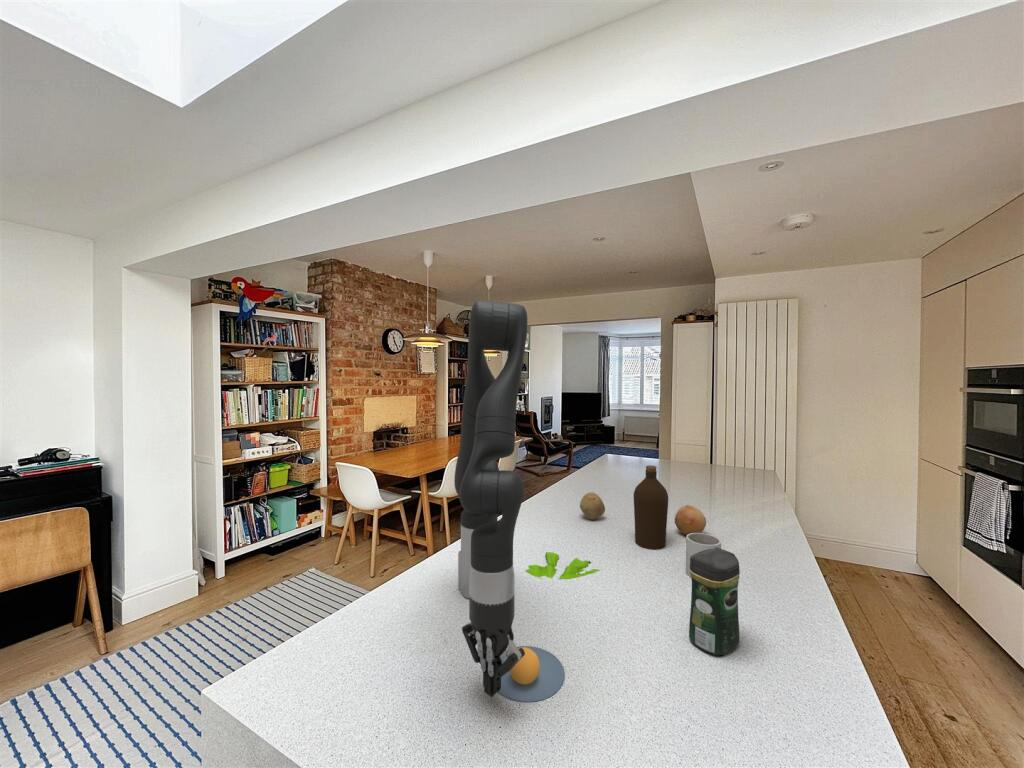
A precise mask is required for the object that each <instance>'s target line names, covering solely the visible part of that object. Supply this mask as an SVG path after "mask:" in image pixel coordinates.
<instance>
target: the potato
mask: <svg viewBox="0 0 1024 768" xmlns="http://www.w3.org/2000/svg"><path fill="white" fill-rule="evenodd" d="M579 508H580V510H581V512H582V513H583V515H584V516H585V517H586V518H587V519H589V520H591V521H592V520H594V521H595V520H596V519H597V518H599V517H601V516H603V515H604V514H605V512H606V507H605V504H604V501H603V500H602V498H601V497H600V496H599V495H598V494H597V493H595V492H587V493H585V494H584V495H583V496H582V498H581V500H580V503H579Z"/></svg>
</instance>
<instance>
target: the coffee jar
mask: <svg viewBox="0 0 1024 768" xmlns="http://www.w3.org/2000/svg"><path fill="white" fill-rule="evenodd" d="M689 570H690V575H691V578H690V579H691V595H690V598H691V600H690V613H689V622H688V623H689V624H688V625H689V626H688V627H689V628H688V629H689V630H688V638H689V639H690V641H691V642H692V644H693V645H695V646H696V647H698V649H699V650H701V651H703V652H706V653H708V654H711V655H712V654H713V655H716V656H722V655H726V654H728V653H730V652H732V651H733V650H734V649H735V648H737V646H738V645H739V643H740V623H739V622H740V621H739V600H738V599H739V589H738V588H739V582H740V581H739V580H740V573H741V572H740V563H739V560H738V558H737V556H736V555H735V554H734V553H733V552H731V551H728V550H725V549H723V548H721V549H720V548H717V547H715V548H713V549H707V550H704V551H701V552H698V553H696V554H694V555H692V556H691V557H690V569H689Z"/></svg>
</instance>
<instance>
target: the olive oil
mask: <svg viewBox="0 0 1024 768" xmlns="http://www.w3.org/2000/svg"><path fill="white" fill-rule="evenodd" d="M657 473H658V472H657V466H655V465H645V477H644V478H643V479H642V480H641V481H640V483H638V484H637V485H636V487H635V489H634V491H633V508H634V509H633V513H634V514H633V517H634V542H635V544H636V545H637V546H639V547H641V548H643V549H647V550H662V549H664V548H665V547H666V546H667V524H668V512H669V511H668V509H669V494H668V491H667V488H666V487H665V486H664V485H663V484H662V483H661V482H660V481H659V479H658V478H657Z"/></svg>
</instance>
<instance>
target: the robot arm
mask: <svg viewBox="0 0 1024 768" xmlns="http://www.w3.org/2000/svg"><path fill="white" fill-rule="evenodd" d="M469 314H470V315H469V323H468V343H467V346H468V347H467V368H466V369H467V371H466V379H465V387H464V395H463V401H462V402H463V403H462V411H461V425H460V426H461V429H460V441H459V448H458V455H457V459H456V465H455V470H454V488H455V491H456V494H457V495H458V497H459V499H458V500H459V502H460V505H461V507H462V508H463V511H462V512H461V514H460V550H459V551H458V554H457V557H458V559H457V561H458V562H457V566H458V567H457V570H458V572H457V575H458V577H457V580H458V581H457V584H458V585H457V586H458V587H457V588H458V590H459V591H460V594H461V595H462V596H463V598H466V599H468V606H469V607H468V608H469V609H468V610H469V611H468V616H469V620H470V622H468V623H466V624H465V625H463V626H462V627H461V631H462V633H463V634H462V635H463V636H464V640H465V641H466V643H467V646H468V649H469V652H470V654H471V656H472V659H473V661H474V663H475V664H478V663H479V664H480V669H481V671H482V685H483V688H484V689H483V690H484V693H485V695H488V696H489V697H490V698H493V697H494V696H495V695H496V694H499V693H498V692H499V691H500V689H501V677H502V676H503V675H505V674H506V673H507V672H508V671H510V670H511V669H512V668H513V667H514V666H515V665H516V664H517V663H518V662H519V661H520V660H521V658H522V657H523V656H524V655H525V652H524V650H523V649H522V648H520V649H518V648H517V647H518V646H517V645H516V643H515V642H514V639H515V638H514V637H515V636H514V635H515V634H514V631H513V629H512V628H513V627H512V625H513V623H514V619H515V600H516V599H515V592H516V591H515V586H516V585H515V581H516V580H515V571H514V569H515V568H514V536H515V530H516V529H515V528H516V524H517V521H518V517H519V513H520V510H521V506H522V503H523V501H524V496H525V484H524V483H525V482H524V480H523V479H522V476H520V474H519V473H518V472H516V471H514V470H500V469H499V464H498V462H497V460H499V459H504V458H508V457H510V456H512V455H513V454H514V452H515V448H516V447H515V445H516V421H517V420H516V419H517V403H518V395H519V390H520V383H521V378H522V371H523V365H524V358H525V352H526V350H525V349H526V343H527V342H526V341H527V336H528V312H527V309H526V308H525V306H524V305H522V304H519V303H512V302H502V301H496V300H495V301H493V300H485V299H482V300H481V299H479V300H476V301H475V302H474V303H473V305H472V307H471V309H470V313H469ZM486 349H487V350H495V351H506V352H507V357H506V361H505V363H504V365H503V368H502V369H501V371H500V372H499V374H498V375H497V377H496V378H495V376H494V375H493V373H492V371H491V369H490V367H489V364H488V362H487V359H486V356H485V355H486V354H485V350H486ZM498 515H501V516H502V517H500V519H499V520H498ZM476 646H477V647H476ZM506 650H507V655H506ZM505 655H506V656H505ZM504 656H505V658H506V661H505V662H504V663H503V660H504Z"/></svg>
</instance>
